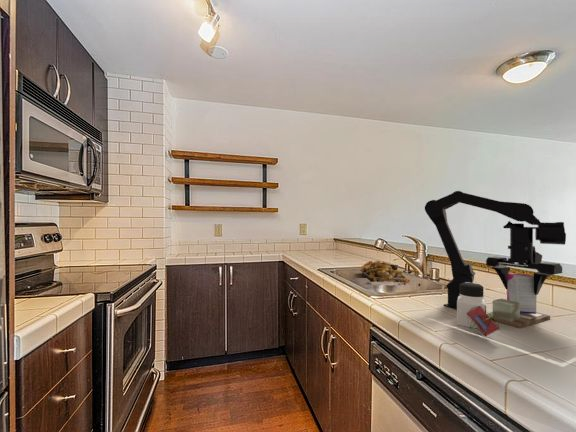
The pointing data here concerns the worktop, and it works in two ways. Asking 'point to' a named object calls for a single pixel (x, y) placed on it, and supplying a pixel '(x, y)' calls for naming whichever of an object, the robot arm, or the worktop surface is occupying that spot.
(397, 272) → the brown irregular low mound
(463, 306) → the medicine bottle
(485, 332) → the geometric puzzle
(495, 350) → the worktop surface
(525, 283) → the supplement box
